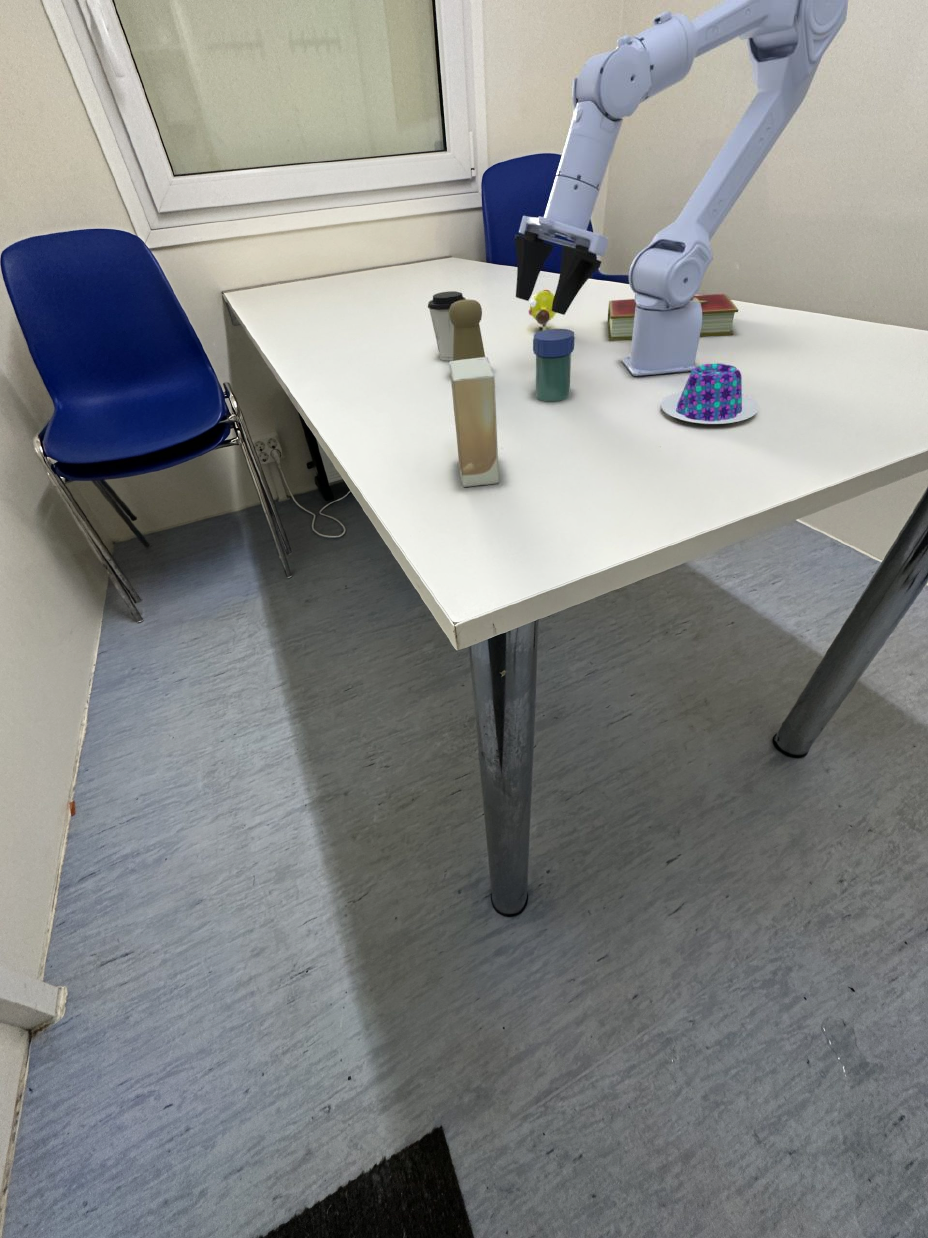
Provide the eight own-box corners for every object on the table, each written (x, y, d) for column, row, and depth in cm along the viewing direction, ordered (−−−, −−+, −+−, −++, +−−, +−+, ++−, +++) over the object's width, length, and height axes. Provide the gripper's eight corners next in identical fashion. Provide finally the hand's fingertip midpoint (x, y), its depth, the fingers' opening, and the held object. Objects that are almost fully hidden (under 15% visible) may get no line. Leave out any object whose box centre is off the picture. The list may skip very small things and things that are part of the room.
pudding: (726, 389, 77) (735, 349, 74) (776, 420, 68) (789, 377, 65) (645, 401, 76) (650, 362, 73) (685, 435, 67) (693, 392, 64)
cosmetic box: (458, 464, 67) (448, 359, 59) (493, 460, 67) (487, 354, 59) (462, 489, 62) (451, 378, 54) (500, 485, 62) (494, 373, 54)
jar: (566, 387, 83) (568, 330, 78) (572, 399, 79) (574, 340, 74) (533, 390, 83) (533, 334, 78) (537, 403, 79) (537, 344, 74)
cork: (484, 380, 89) (480, 304, 81) (448, 381, 90) (441, 306, 83) (491, 367, 93) (487, 294, 86) (456, 368, 94) (450, 296, 87)
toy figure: (531, 319, 114) (530, 281, 110) (557, 317, 113) (558, 279, 109) (526, 344, 101) (525, 303, 97) (556, 343, 100) (557, 301, 96)
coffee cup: (427, 361, 99) (419, 299, 92) (443, 350, 103) (436, 289, 97) (462, 363, 96) (457, 299, 90) (476, 350, 101) (472, 289, 94)
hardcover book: (607, 322, 107) (609, 298, 104) (720, 316, 103) (725, 291, 101) (608, 340, 99) (610, 314, 96) (732, 334, 95) (738, 307, 92)
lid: (570, 343, 79) (570, 326, 78) (577, 355, 75) (577, 337, 73) (531, 347, 79) (531, 330, 78) (535, 359, 75) (535, 341, 74)
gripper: (517, 166, 69) (486, 286, 76) (599, 179, 61) (555, 313, 68) (554, 185, 73) (521, 297, 81) (635, 200, 65) (590, 323, 72)
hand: (539, 305), depth 75 cm, fingers open, 7 cm apart
